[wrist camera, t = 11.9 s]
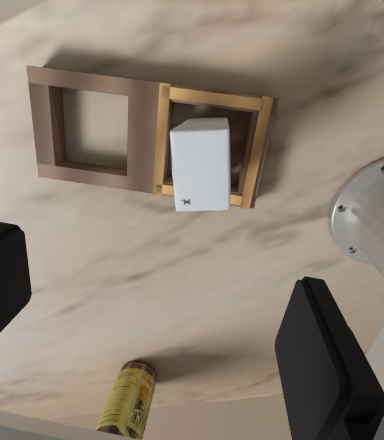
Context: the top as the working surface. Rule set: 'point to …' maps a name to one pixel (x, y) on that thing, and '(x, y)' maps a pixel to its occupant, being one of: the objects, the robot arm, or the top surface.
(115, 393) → the sauce bottle
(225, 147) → the skincare box
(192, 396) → the top surface
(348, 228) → the robot arm
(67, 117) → the top surface
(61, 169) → the wooden flat frame
